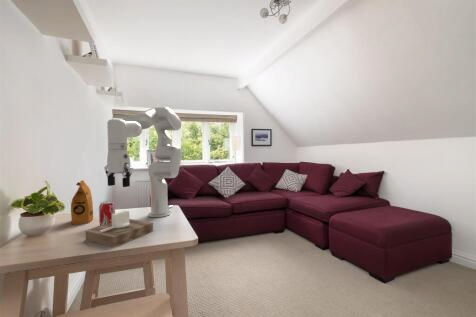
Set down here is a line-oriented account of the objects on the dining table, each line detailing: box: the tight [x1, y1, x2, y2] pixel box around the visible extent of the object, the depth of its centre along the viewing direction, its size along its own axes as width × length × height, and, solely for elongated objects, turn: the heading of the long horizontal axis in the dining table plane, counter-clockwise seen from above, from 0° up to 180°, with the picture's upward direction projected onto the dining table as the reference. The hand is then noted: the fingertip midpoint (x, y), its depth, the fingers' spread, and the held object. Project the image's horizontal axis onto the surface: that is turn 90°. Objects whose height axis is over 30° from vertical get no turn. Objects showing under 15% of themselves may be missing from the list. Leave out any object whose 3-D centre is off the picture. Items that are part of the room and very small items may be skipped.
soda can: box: [98, 200, 116, 227], centre depth 117 cm, size 7×7×12 cm
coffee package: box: [70, 179, 94, 226], centre depth 124 cm, size 10×12×22 cm
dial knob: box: [100, 210, 130, 232], centre depth 100 cm, size 13×7×6 cm, turn 155°
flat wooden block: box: [85, 218, 154, 248], centre depth 103 cm, size 20×18×4 cm
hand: (118, 186), depth 102 cm, fingers open, 9 cm apart
